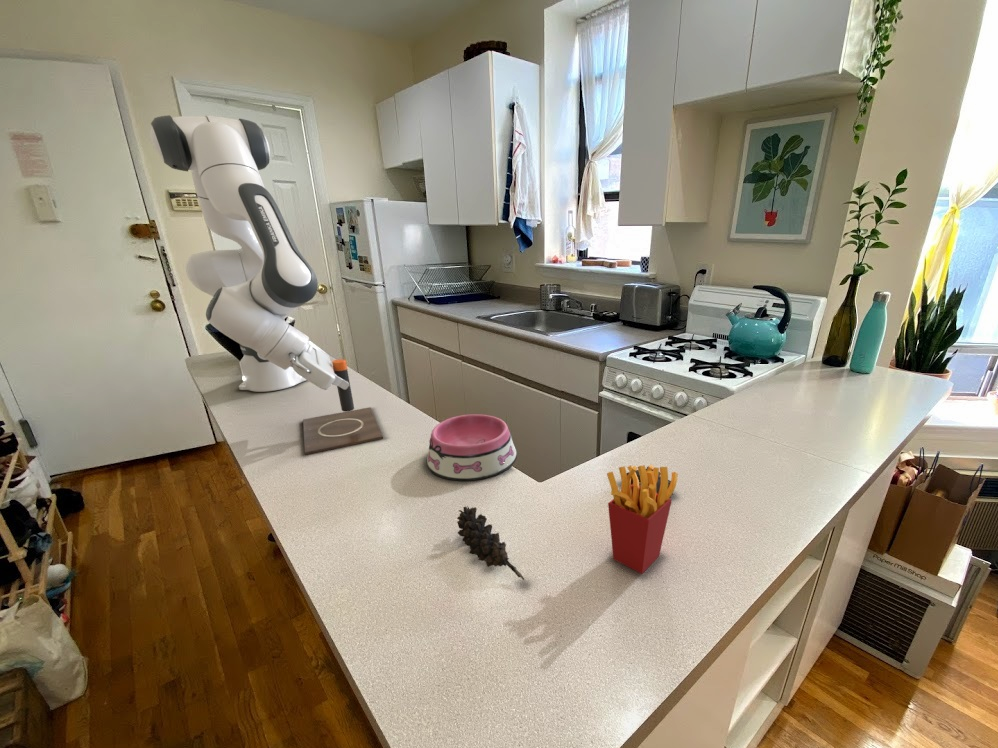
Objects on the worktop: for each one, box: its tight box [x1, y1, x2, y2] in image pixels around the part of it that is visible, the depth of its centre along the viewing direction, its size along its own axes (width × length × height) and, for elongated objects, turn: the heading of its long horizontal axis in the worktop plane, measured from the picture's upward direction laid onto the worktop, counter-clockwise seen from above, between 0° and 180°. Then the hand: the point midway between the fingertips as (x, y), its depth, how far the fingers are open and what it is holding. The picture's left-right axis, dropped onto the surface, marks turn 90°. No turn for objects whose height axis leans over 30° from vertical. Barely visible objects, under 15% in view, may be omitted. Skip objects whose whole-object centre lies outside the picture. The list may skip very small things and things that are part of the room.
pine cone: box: [456, 505, 525, 581], centre depth 67 cm, size 17×5×5 cm, turn 34°
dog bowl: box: [426, 413, 518, 482], centre depth 95 cm, size 18×19×7 cm
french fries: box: [606, 464, 678, 575], centre depth 66 cm, size 9×8×15 cm
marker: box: [331, 358, 355, 412], centre depth 108 cm, size 3×3×12 cm
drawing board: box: [302, 406, 384, 456], centre depth 110 cm, size 20×16×1 cm
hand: (346, 383), depth 109 cm, fingers closed on marker, 3 cm apart
